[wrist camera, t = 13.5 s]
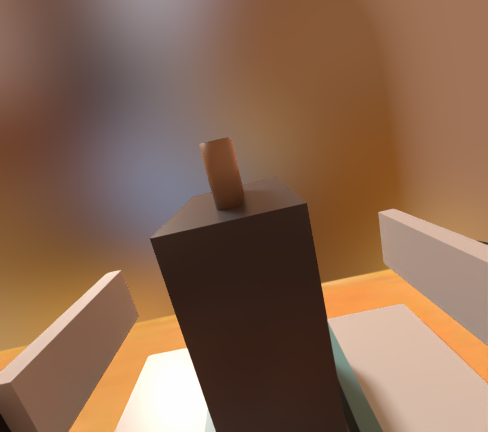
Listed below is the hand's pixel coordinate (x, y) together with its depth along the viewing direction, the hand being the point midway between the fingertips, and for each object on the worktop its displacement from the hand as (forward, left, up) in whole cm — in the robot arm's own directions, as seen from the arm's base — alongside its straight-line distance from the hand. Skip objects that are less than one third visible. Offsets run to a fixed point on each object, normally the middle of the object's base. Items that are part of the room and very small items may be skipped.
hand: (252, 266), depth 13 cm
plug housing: (0, -3, -8) cm, 8 cm away
